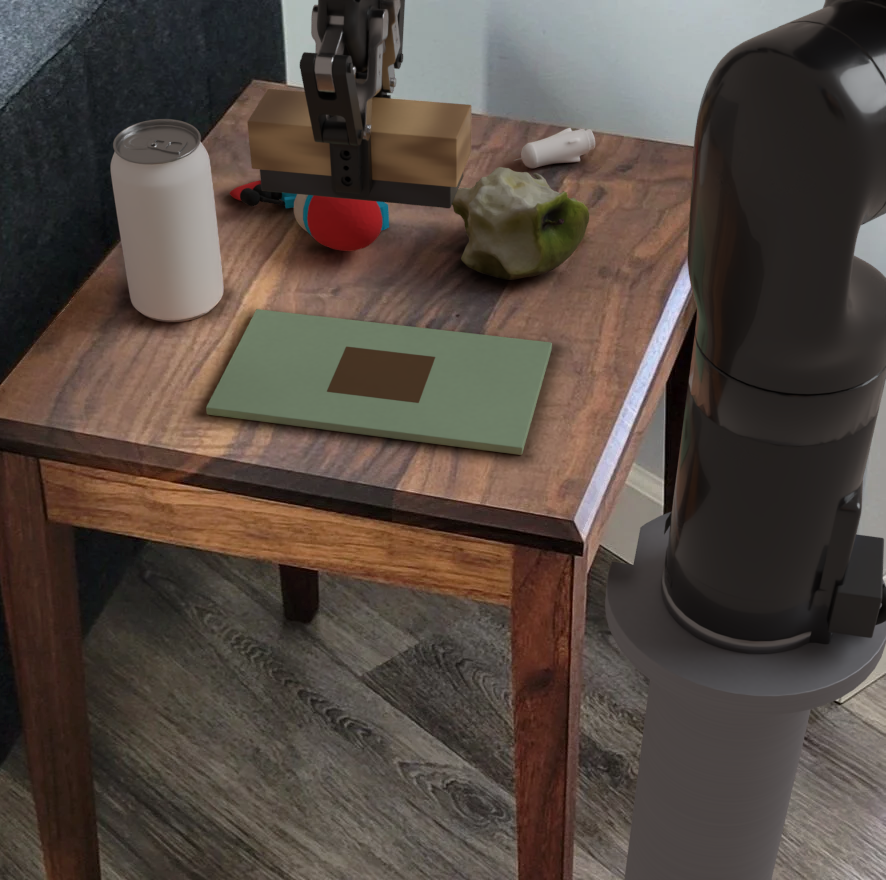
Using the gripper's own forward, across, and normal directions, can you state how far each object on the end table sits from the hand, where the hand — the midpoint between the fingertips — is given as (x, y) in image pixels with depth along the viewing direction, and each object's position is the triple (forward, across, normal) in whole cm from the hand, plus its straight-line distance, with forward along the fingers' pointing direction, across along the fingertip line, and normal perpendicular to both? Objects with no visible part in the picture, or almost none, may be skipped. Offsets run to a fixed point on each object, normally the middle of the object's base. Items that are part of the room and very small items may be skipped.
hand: (362, 172), depth 94 cm
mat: (+15, 0, -1) cm, 15 cm away
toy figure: (+15, +18, +8) cm, 25 cm away
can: (+15, +7, +15) cm, 22 cm away
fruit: (+15, +16, -6) cm, 23 cm away
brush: (+1, 0, 0) cm, 1 cm away
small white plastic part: (+13, +28, -7) cm, 32 cm away
